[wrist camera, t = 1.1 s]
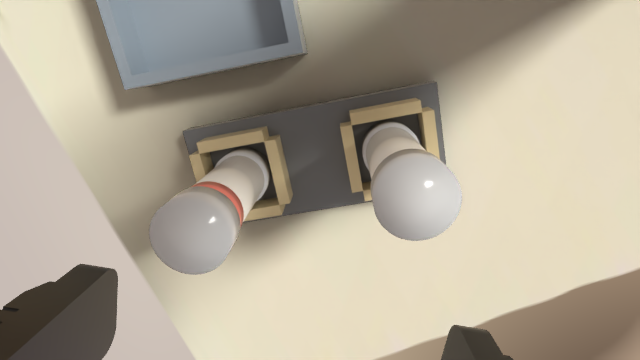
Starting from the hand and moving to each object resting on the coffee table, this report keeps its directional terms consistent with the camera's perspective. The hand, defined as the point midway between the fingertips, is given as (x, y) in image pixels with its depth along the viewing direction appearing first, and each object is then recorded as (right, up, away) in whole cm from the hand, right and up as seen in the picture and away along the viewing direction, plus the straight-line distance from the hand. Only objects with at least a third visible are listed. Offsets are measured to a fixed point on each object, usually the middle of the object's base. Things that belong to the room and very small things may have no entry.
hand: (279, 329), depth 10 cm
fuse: (+6, +6, +20) cm, 22 cm away
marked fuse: (-5, +4, +21) cm, 22 cm away
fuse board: (+1, +6, +22) cm, 23 cm away
